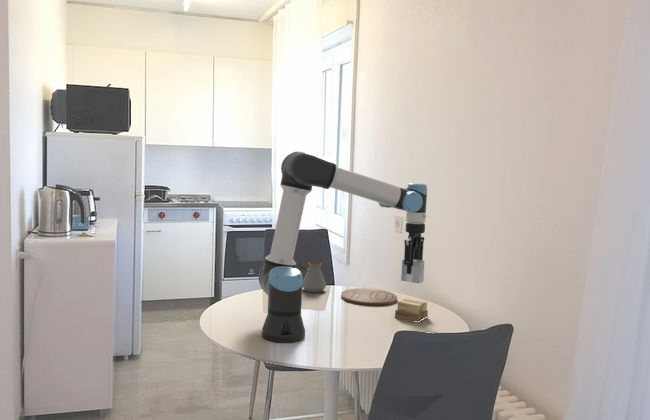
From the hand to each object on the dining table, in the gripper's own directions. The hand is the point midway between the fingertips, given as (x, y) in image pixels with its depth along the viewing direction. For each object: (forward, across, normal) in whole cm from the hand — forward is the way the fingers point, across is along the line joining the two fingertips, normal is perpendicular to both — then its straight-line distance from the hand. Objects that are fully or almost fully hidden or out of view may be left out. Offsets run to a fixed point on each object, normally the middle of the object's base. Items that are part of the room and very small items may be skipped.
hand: (412, 280), depth 227 cm
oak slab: (+12, 0, 0) cm, 12 cm away
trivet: (+16, +14, +27) cm, 35 cm away
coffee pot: (+15, +3, +53) cm, 56 cm away
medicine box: (+1, 0, 0) cm, 1 cm away
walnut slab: (+16, 0, 0) cm, 16 cm away
